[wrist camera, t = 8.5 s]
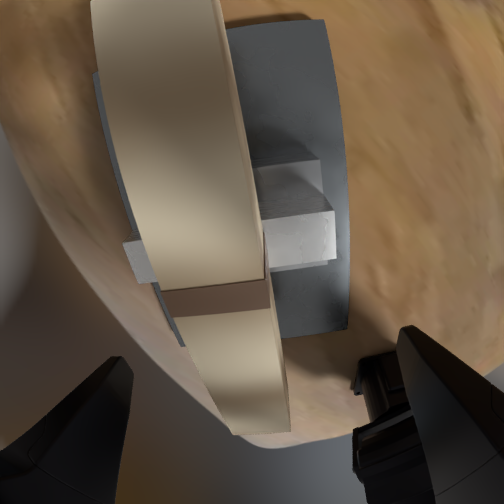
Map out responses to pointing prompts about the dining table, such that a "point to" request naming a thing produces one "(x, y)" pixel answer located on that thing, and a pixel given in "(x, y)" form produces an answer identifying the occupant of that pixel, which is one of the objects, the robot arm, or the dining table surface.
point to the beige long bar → (195, 195)
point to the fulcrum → (284, 172)
